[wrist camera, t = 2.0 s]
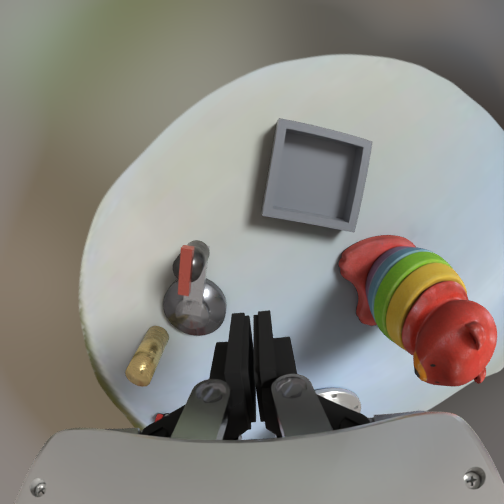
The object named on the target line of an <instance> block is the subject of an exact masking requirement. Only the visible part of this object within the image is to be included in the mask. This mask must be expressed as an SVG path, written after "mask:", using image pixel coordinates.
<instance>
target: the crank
mask: <svg viewBox="0 0 504 504" xmlns="http://www.w3.org/2000/svg"><path fill="white" fill-rule="evenodd" d="M208 258H209V246H207V245H206V244H205V243H203V242H202V241H198V240H195V241H192V242H190V243H189V244H188V245H183V246H182V247H181V253H180V255H179V256H178V257H177V259H176V260H175V261H174V264H173V272H174V274H175V276H176V277H177V278H178V279H179V283H178V295H184V297H183V298H182V299H181V300H180V301H179V303H178V305H177V307H176V310H175V314H176V318H177V320H178V321H179V323H180V324H182V325H183V326H185V327H187V328H190V329H198V328H201V327H203V326H204V325H205V324H206V323H207V321H208V318H209V314H210V309H209V306H208V304H207V303H206V302H205V301H204V291H205V281H206V272H207V263H208Z"/></svg>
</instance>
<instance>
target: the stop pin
mask: <svg viewBox="0 0 504 504" xmlns="http://www.w3.org/2000/svg"><path fill="white" fill-rule="evenodd" d="M168 340H169V335H168V333H167V331H166V330H165V329H163V328H162V327H159V326H152V327H150V328H149V330H148V332H147V333H146V335H145V337H144V339H143V340H142V342H141V344H140V346H139V347H138V349H137V351H136V353H135V355H134V356H133V358H132V360H131V362H130V364H129V365H128V367H127V369H126V371H125V374H126V377H127V378H128V380H129V381H130V382H132V383H133V384H135V385H137V386H147V385H149V384H150V381H151V379H152V377H153V374H154V372H155V370H156V367H157V365H158V363H159V360H160V358H161V356H162V353H163V351H164V349H165V346H166V344H167V342H168Z"/></svg>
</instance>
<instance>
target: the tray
mask: <svg viewBox="0 0 504 504" xmlns="http://www.w3.org/2000/svg"><path fill="white" fill-rule="evenodd" d="M371 148H372V141H369V140H366V139H363V138H360V137H356V136H353V135H349V134H346V133H342V132H338V131H334V130H330V129H326V128H322V127H318V126H314V125H310V124H305V123H300V122H296V121H291V120H286V119H280V118H279V119H278V121H277V124H276V129H275V135H274V141H273V147H272V153H271V159H270V164H269V170H268V176H267V182H266V188H265V193H264V199H263V205H262V216H267V217H273V218H279V219H285V220H290V221H296V222H302V223H307V224H313V225H318V226H323V227H329V228H334V229H339V230H344V231H349V232H355V228H356V224H357V219H358V215H359V211H360V206H361V201H362V197H363V192H364V187H365V182H366V176H367V171H368V166H369V160H370V154H371Z"/></svg>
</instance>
